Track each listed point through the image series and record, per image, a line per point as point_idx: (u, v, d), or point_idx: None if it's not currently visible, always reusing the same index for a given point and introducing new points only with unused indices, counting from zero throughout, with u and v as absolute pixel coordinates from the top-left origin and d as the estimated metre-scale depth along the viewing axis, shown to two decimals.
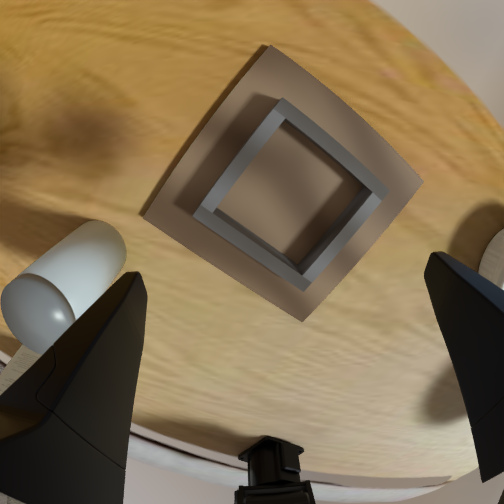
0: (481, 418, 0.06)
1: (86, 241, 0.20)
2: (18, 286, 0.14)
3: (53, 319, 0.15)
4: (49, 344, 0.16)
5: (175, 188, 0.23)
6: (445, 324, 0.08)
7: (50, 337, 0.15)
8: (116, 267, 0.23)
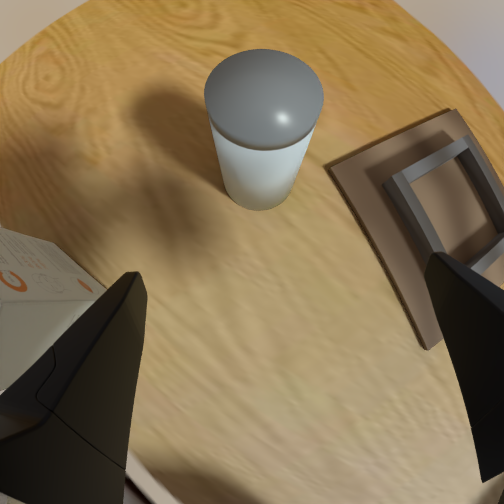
0: (481, 418, 0.06)
1: None
2: (278, 55, 0.13)
3: (303, 98, 0.13)
4: (263, 122, 0.12)
5: (370, 160, 0.23)
6: (445, 324, 0.08)
7: (276, 114, 0.12)
8: (291, 186, 0.21)
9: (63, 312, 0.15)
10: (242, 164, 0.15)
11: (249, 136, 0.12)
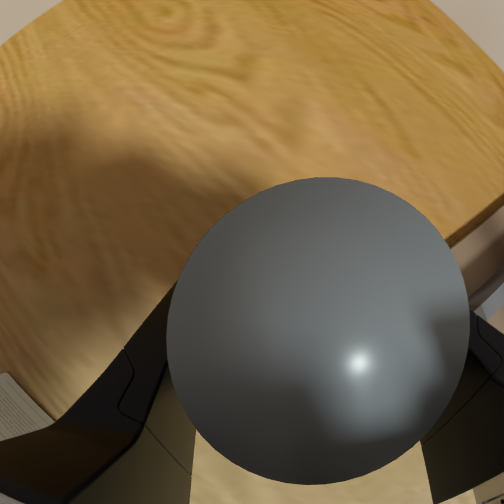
0: (430, 437, 0.06)
1: None
2: (375, 205, 0.05)
3: (428, 359, 0.05)
4: (328, 443, 0.04)
5: None
6: None
7: (362, 419, 0.04)
8: None
9: None
10: None
11: (291, 480, 0.04)
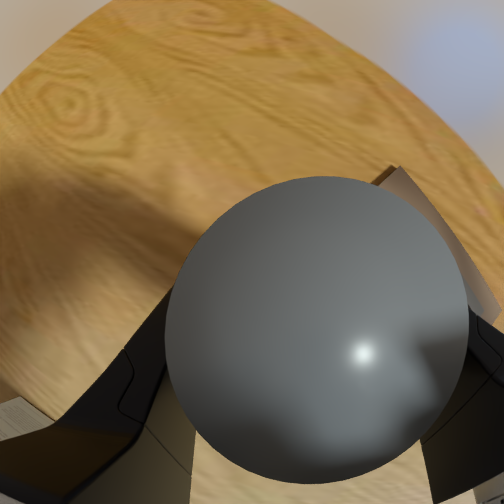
0: (430, 437, 0.06)
1: None
2: (373, 204, 0.05)
3: (427, 359, 0.05)
4: (327, 442, 0.04)
5: None
6: None
7: (361, 418, 0.04)
8: None
9: None
10: None
11: (289, 479, 0.04)
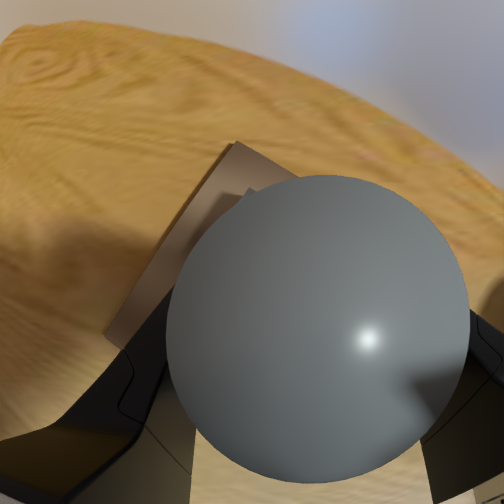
0: (430, 437, 0.06)
1: None
2: (375, 203, 0.05)
3: (429, 358, 0.05)
4: (329, 441, 0.04)
5: (139, 303, 0.20)
6: None
7: (363, 417, 0.04)
8: None
9: None
10: None
11: (291, 479, 0.04)
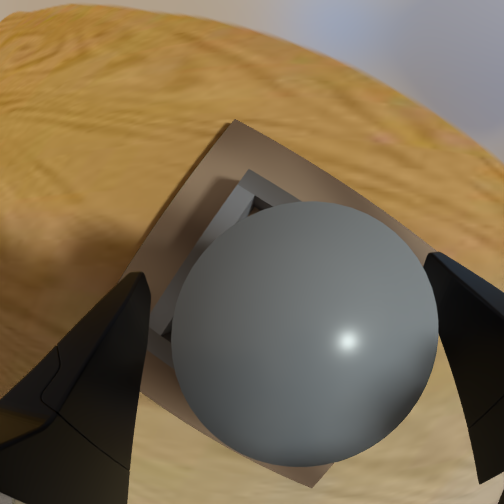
0: (478, 419, 0.06)
1: None
2: (350, 225, 0.06)
3: (398, 360, 0.05)
4: (309, 430, 0.05)
5: None
6: (442, 325, 0.08)
7: (338, 410, 0.05)
8: None
9: None
10: None
11: (276, 462, 0.05)
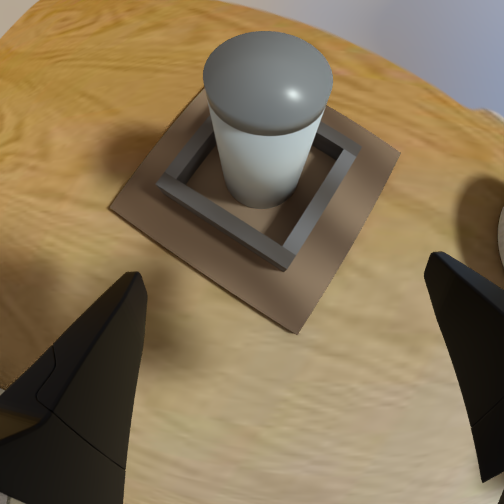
0: (481, 418, 0.06)
1: None
2: (283, 37, 0.12)
3: (311, 80, 0.11)
4: (267, 103, 0.11)
5: (144, 175, 0.22)
6: (445, 324, 0.08)
7: (282, 96, 0.11)
8: (296, 182, 0.20)
9: None
10: (243, 154, 0.14)
11: (251, 119, 0.11)
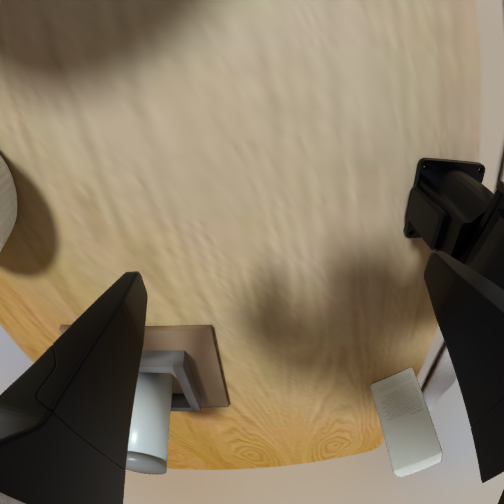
0: (481, 418, 0.06)
1: None
2: None
3: (128, 462, 0.23)
4: (151, 467, 0.23)
5: (201, 404, 0.37)
6: (445, 324, 0.08)
7: (144, 465, 0.23)
8: (142, 382, 0.29)
9: (388, 430, 0.31)
10: (165, 441, 0.26)
11: (161, 468, 0.23)
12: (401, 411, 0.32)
